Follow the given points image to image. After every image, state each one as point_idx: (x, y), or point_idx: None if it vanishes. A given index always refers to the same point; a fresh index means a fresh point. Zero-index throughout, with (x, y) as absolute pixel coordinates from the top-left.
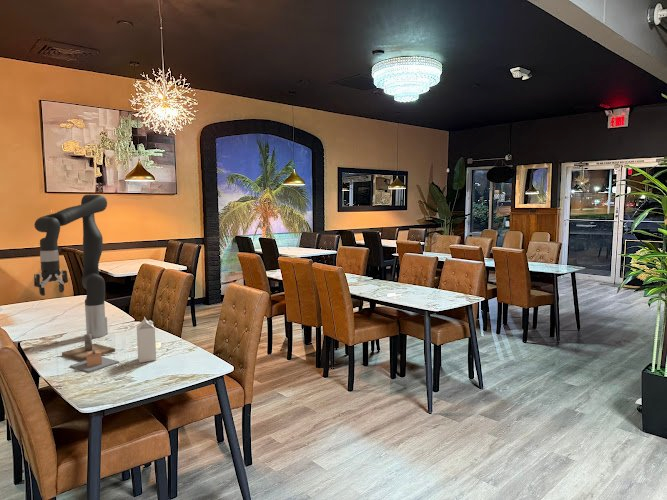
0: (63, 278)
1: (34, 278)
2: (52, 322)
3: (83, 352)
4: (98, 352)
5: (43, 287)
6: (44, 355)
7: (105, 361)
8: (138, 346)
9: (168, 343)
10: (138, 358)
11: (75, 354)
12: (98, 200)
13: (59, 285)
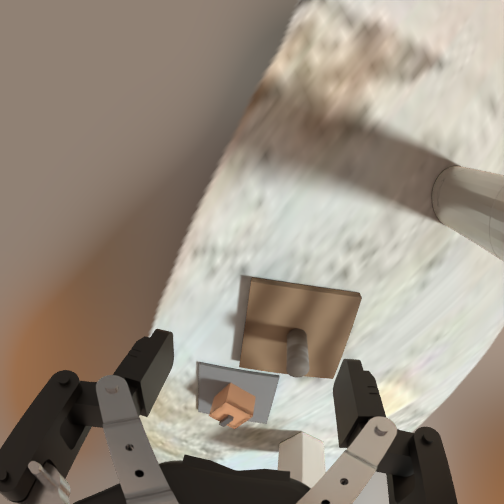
0: (422, 475)
1: (12, 441)
2: None
3: (276, 338)
4: (234, 423)
5: (139, 412)
6: (230, 221)
7: (254, 406)
8: (278, 468)
9: (406, 415)
10: (290, 440)
11: (253, 332)
12: None
13: (352, 417)
